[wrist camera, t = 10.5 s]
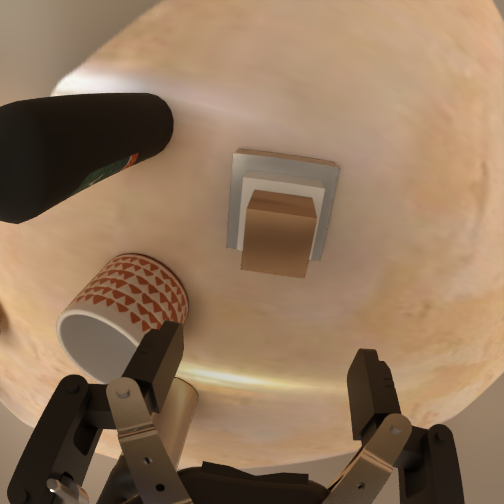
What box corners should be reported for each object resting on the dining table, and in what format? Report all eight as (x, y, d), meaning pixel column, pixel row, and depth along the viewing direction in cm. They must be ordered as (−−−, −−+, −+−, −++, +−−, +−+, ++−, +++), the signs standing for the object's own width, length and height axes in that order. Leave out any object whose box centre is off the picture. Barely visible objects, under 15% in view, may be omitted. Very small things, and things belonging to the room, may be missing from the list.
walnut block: (302, 249, 27) (304, 278, 23) (248, 241, 28) (240, 269, 23) (312, 197, 25) (317, 218, 21) (254, 189, 25) (246, 208, 21)
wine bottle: (185, 111, 28) (-136, 218, 2) (154, 169, 32) (-83, 357, 5) (131, 83, 27) (-151, 135, 1) (105, 140, 30) (-133, 263, 4)
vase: (88, 277, 40) (41, 330, 29) (144, 234, 36) (89, 291, 24) (146, 341, 45) (114, 401, 34) (209, 312, 40) (182, 385, 29)
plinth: (318, 248, 34) (322, 276, 28) (231, 235, 34) (220, 261, 29) (334, 162, 29) (345, 174, 24) (238, 148, 30) (227, 158, 24)
